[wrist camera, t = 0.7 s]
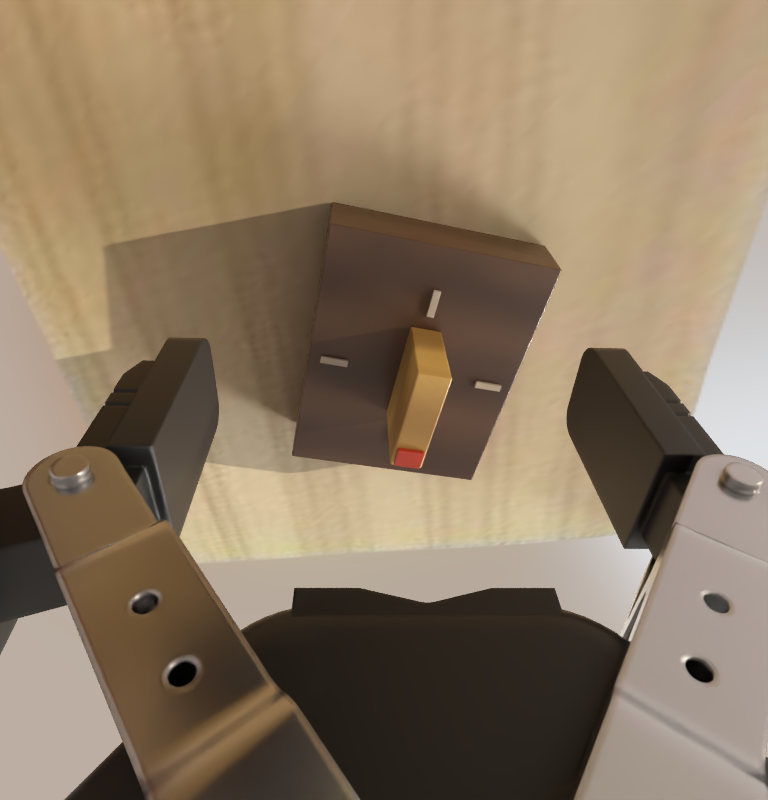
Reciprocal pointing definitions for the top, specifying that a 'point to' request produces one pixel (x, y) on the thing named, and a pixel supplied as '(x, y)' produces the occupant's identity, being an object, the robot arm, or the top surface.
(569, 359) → the top surface
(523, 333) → the lock plate
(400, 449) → the red-tipped tan block
